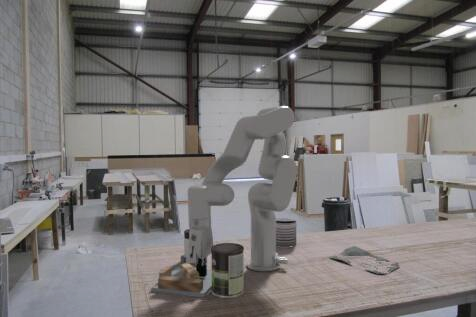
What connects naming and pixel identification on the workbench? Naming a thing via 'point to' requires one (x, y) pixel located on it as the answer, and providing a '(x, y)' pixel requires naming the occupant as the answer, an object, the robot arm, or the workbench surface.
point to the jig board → (177, 273)
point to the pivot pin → (183, 259)
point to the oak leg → (189, 271)
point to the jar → (187, 246)
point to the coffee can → (227, 270)
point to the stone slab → (360, 252)
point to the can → (285, 232)
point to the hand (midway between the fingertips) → (201, 275)
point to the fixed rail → (180, 284)
